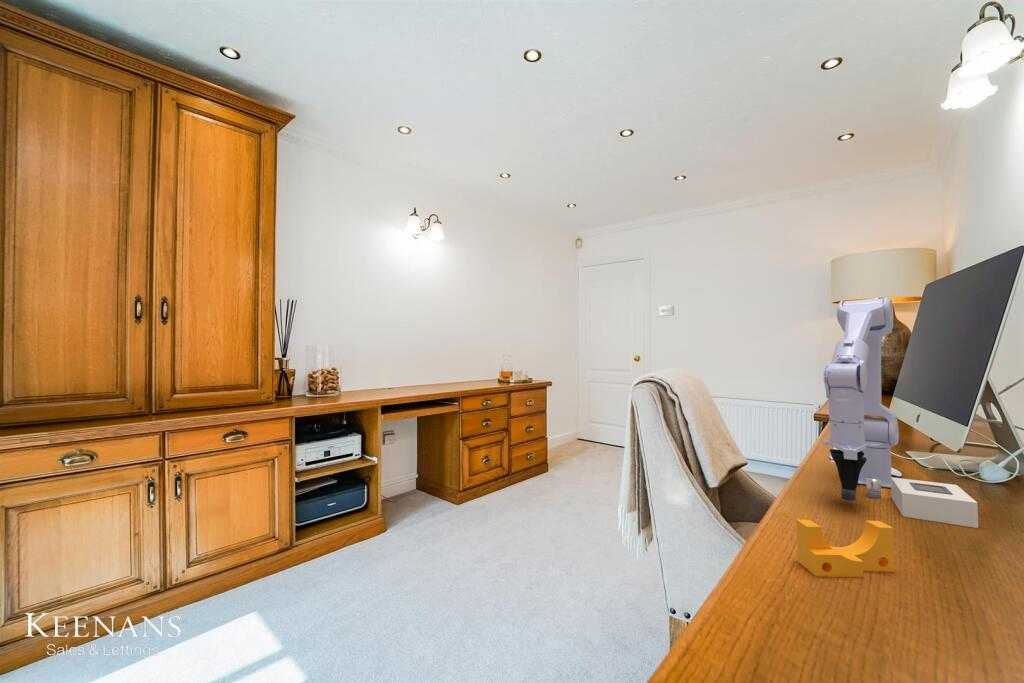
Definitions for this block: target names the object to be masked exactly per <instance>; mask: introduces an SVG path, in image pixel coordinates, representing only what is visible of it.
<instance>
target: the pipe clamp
mask: <svg viewBox="0 0 1024 683" xmlns="http://www.w3.org/2000/svg"><path fill="white" fill-rule="evenodd" d="M864 524H865V525H864V529H863V532H862V533H861V536H860V537H859V538H858V539H857V540H856V541H855V542H853V543H851V544H849V545H846V546H831V545H829V544H828V543H827V541H826V540H825V537H824V535H823V531H822V526H820V525H819V524H817V523H815V522H814V521H812V520H811V519H796V550H797V551H796V552H797V558H796V559H797V562H798V563H799V564H800V565H802V566H803V567H804V568H805V569H806V568H807V569H806V570H808V571H809V572H810V573H811V574H812V575H814V576H815V577H828V576H829V578H831V577H835V578H837V577H838V578H865V577H864V574H865V573H864V572H888V573H889V572H890V573H891V572H892V573H895V570H896V569H895V566H896V565H895V543H894V542H895V540H894V537H895V536H894V527H892V526H890V525H889V524H886V523H885V522H883V521H880V520H865V523H864Z"/></svg>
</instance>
